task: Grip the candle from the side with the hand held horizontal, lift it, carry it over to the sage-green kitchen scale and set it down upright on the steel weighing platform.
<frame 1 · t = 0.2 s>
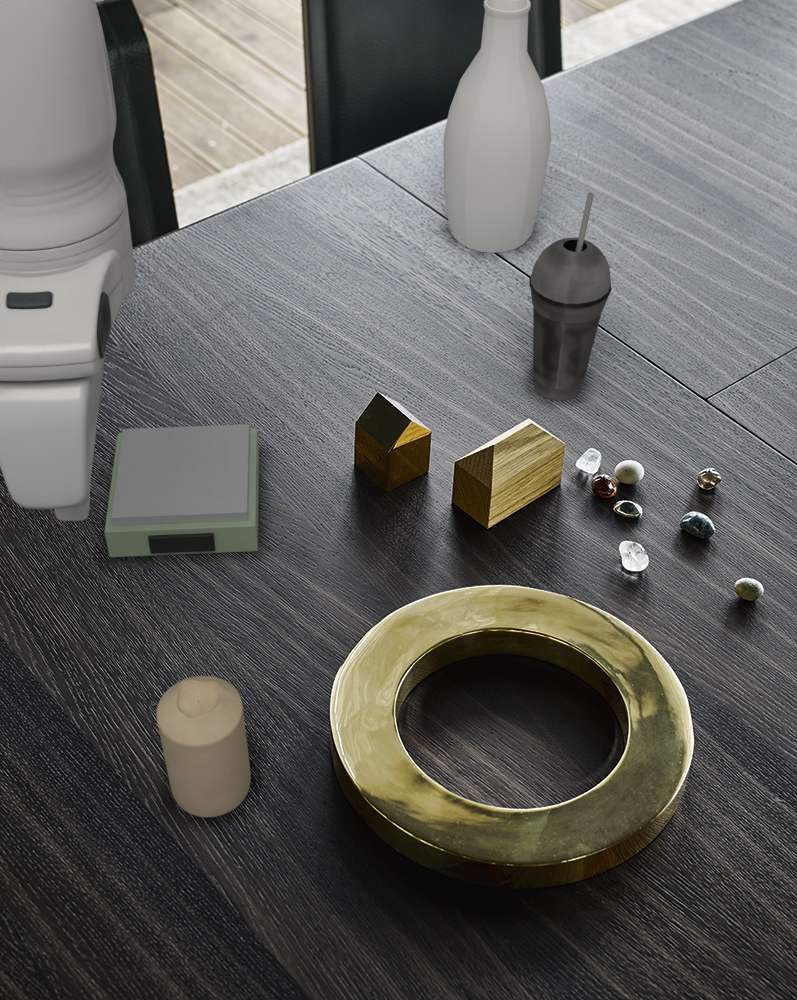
hand: (81, 457, 74), 25 cm above the table, tool pointing down, fingers open, 8 cm apart
scale: (187, 503, 106), on the table
beverage cup: (556, 387, 119), on the table
bottle: (490, 233, 138), on the table
candle: (211, 785, 87), on the table
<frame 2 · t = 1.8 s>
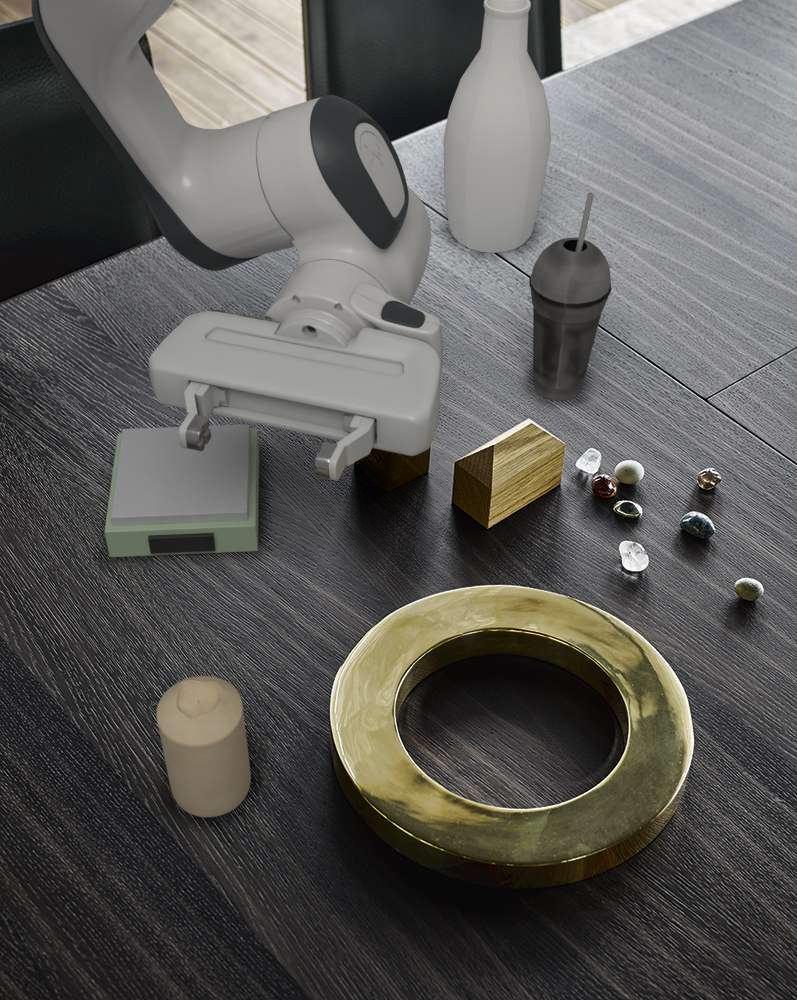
hand: (256, 456, 81), 20 cm above the table, tool horizontal, fingers open, 8 cm apart
nothing on the table moved.
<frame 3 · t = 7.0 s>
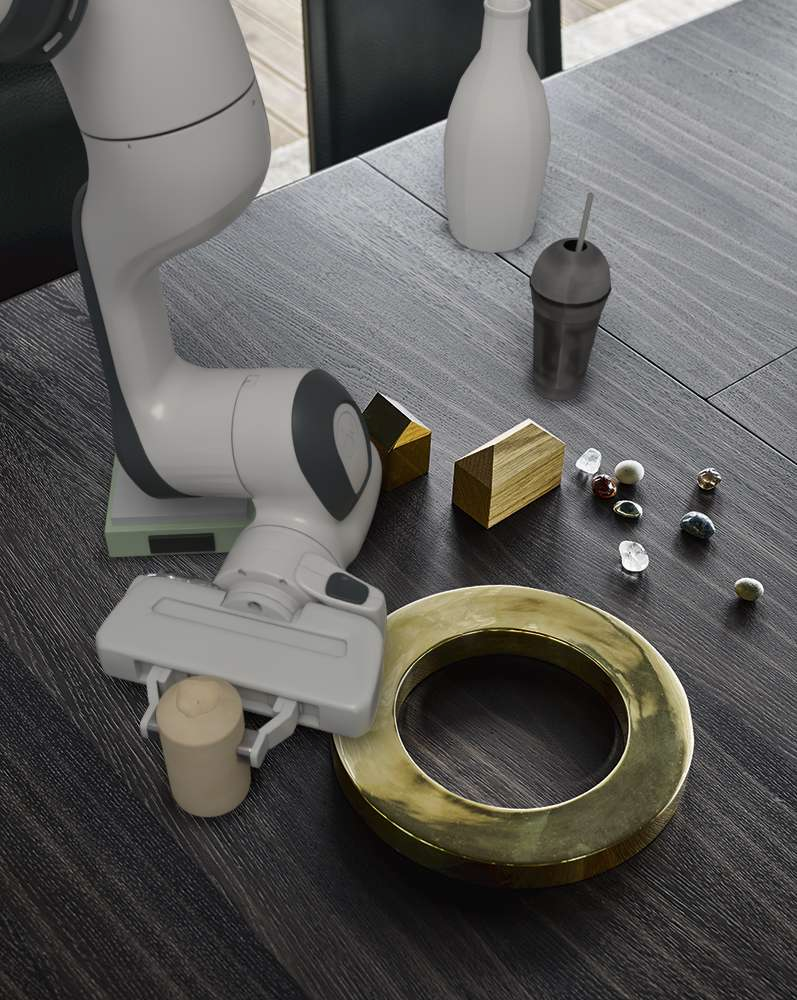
hand: (199, 747, 82), 6 cm above the table, tool horizontal, fingers closed on candle, 5 cm apart
candle: (211, 785, 87), on the table, touching gripper
everything else where it was.
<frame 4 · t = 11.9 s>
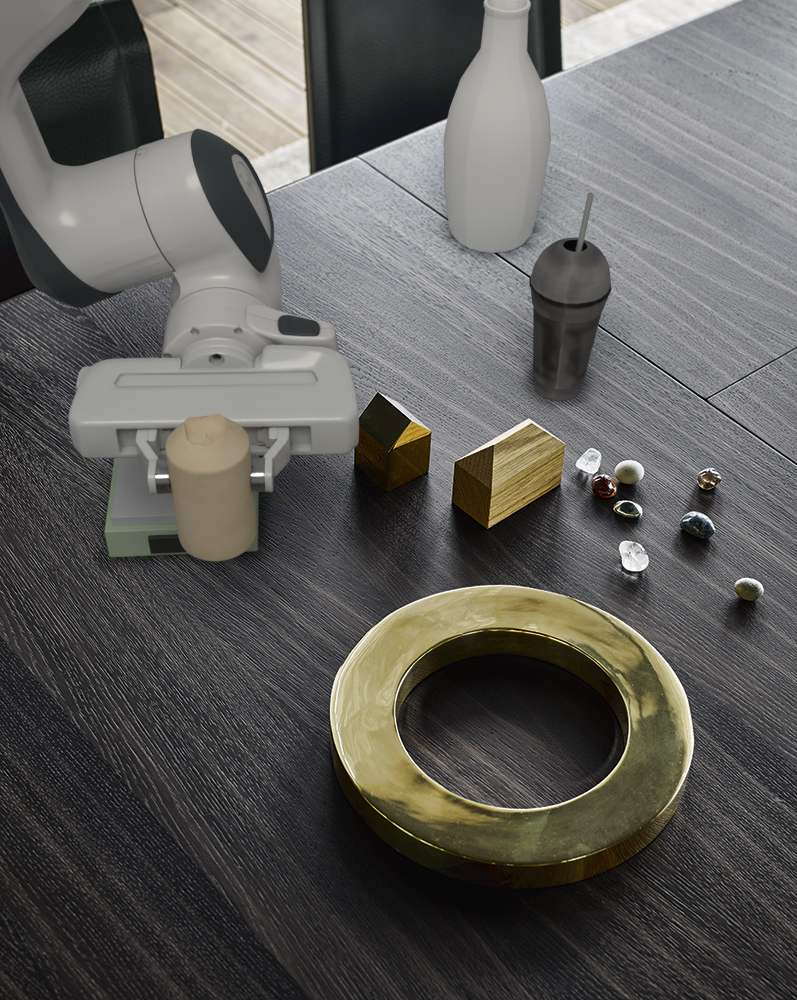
hand: (211, 486, 84), 17 cm above the table, tool horizontal, fingers closed on candle, 5 cm apart
candle: (218, 535, 89), point 11 cm above the table, touching gripper
everything else where it was.
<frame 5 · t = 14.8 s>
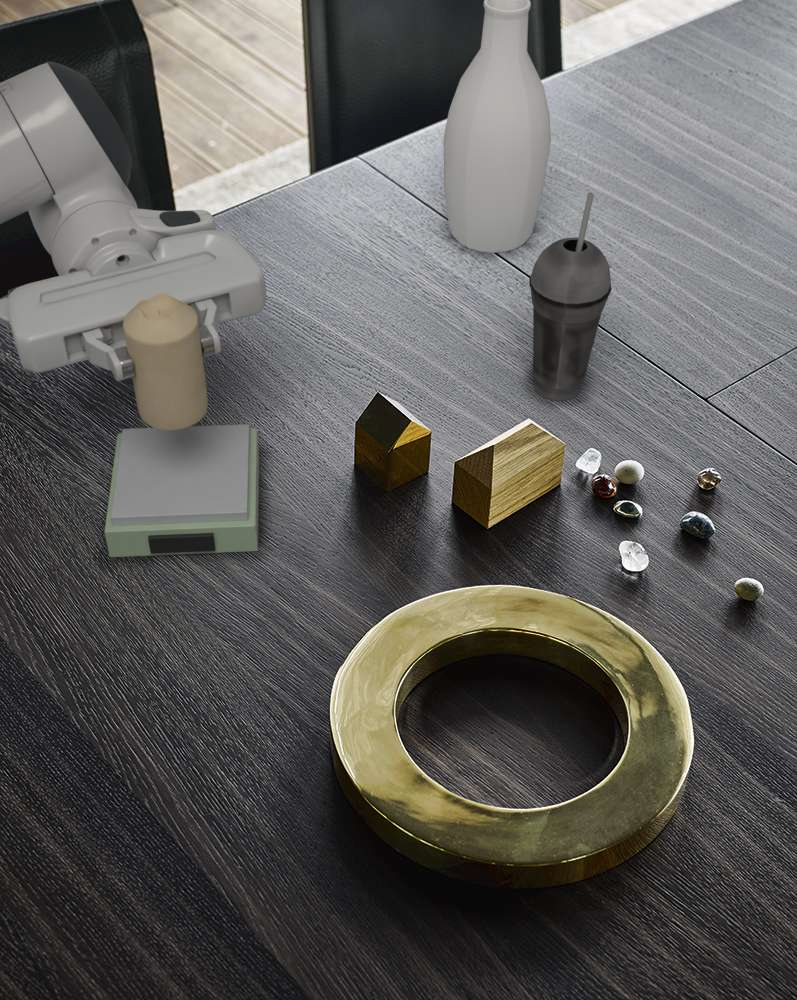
hand: (169, 359, 95), 16 cm above the table, tool horizontal, fingers closed on candle, 5 cm apart
candle: (173, 410, 99), point 10 cm above the table, touching gripper
everything else where it was.
when the fingers open (10 cm above the table, at t = 17.1 s): candle stays where it is, resting on scale.
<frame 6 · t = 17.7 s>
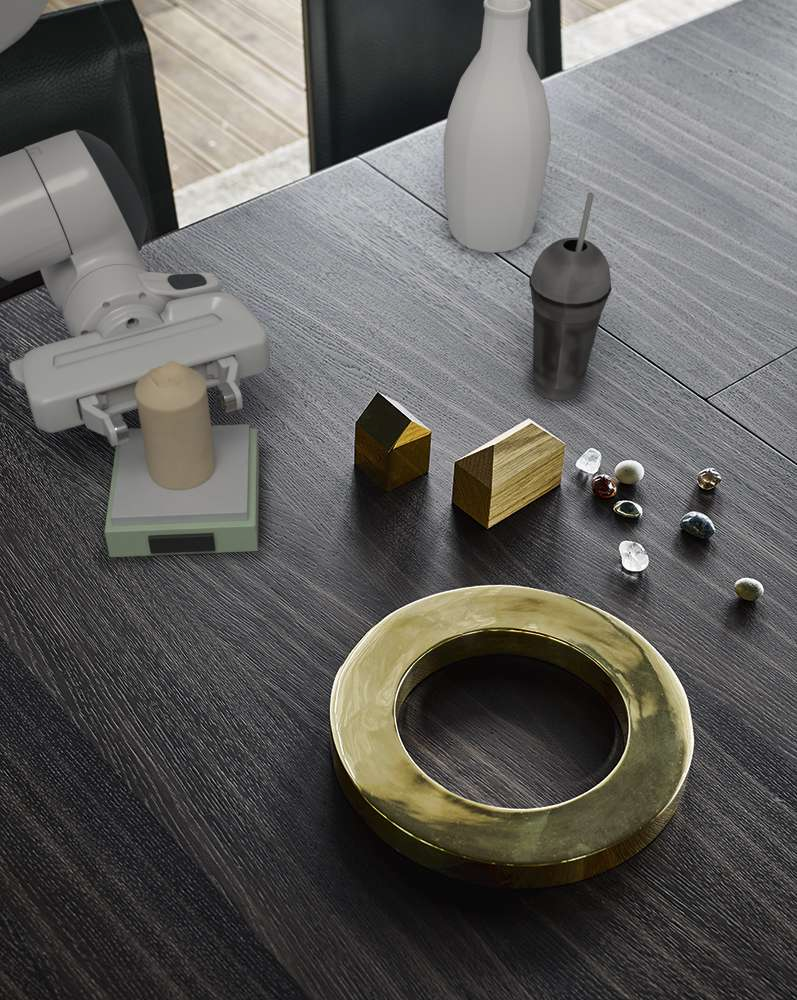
hand: (178, 420, 99), 10 cm above the table, tool horizontal, fingers open, 8 cm apart
candle: (182, 469, 104), point 4 cm above the table, touching scale
everything else where it was.
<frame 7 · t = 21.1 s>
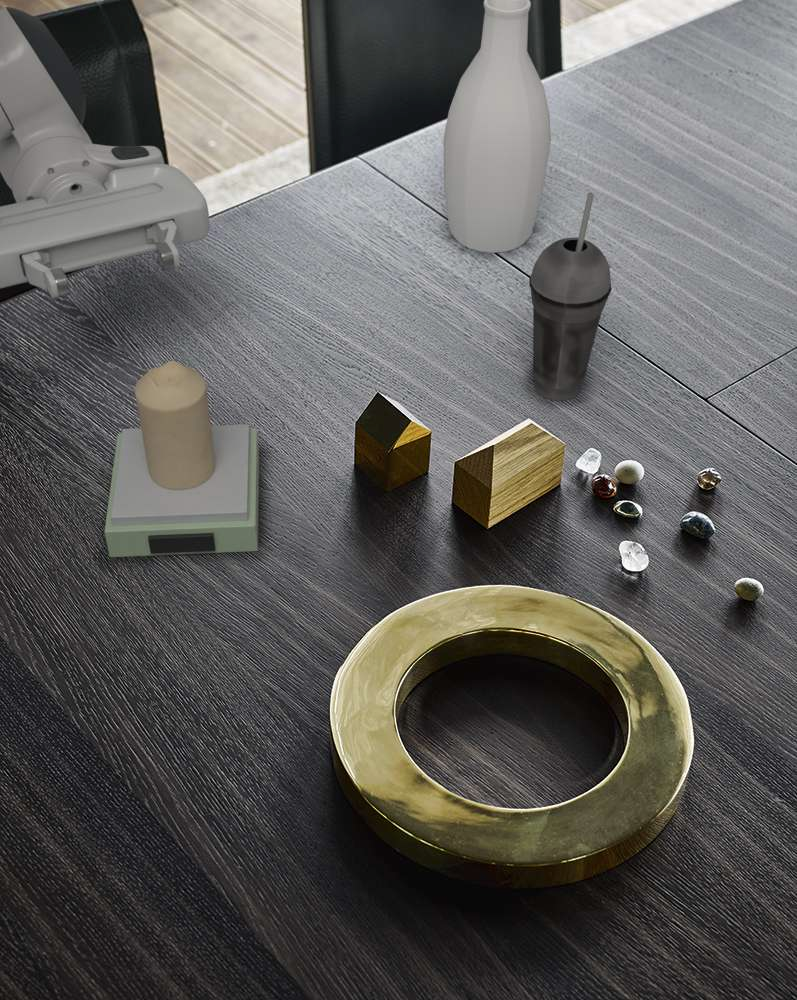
hand: (117, 275, 103), 16 cm above the table, tool horizontal, fingers open, 8 cm apart
nothing on the table moved.
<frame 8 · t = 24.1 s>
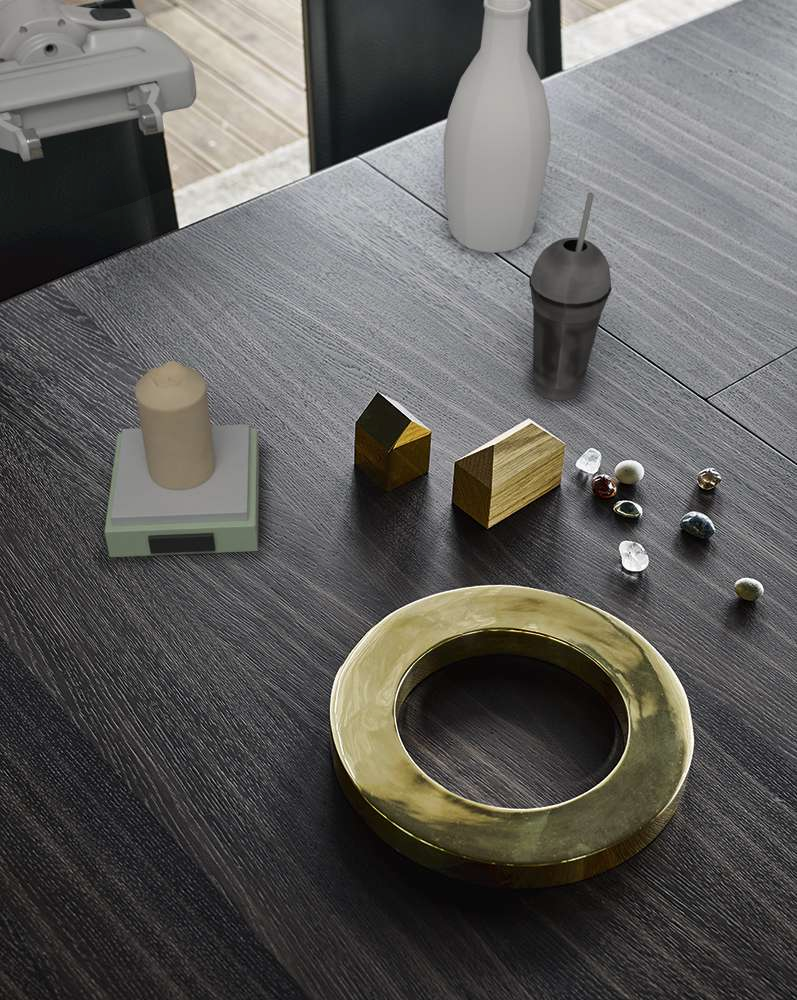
hand: (94, 137, 95), 28 cm above the table, tool horizontal, fingers open, 8 cm apart
nothing on the table moved.
at the end: candle inside the target area on the scale (0.1 cm from its centre), point 3.8 cm above the scale's base; candle tilted 0°; the gripper is holding nothing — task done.
